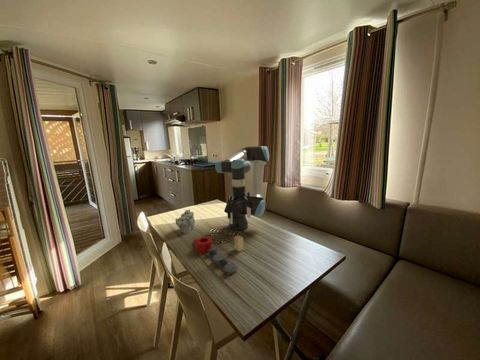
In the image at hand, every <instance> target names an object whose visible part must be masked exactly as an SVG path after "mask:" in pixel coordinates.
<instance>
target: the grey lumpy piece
mask: <svg viewBox="0 0 480 360" xmlns="http://www.w3.org/2000/svg"><path fill="white" fill-rule="evenodd" d="M194 215H195V214H194V212H193V211H191V209H189V208H188V209H186V210H185V211H184V212H183V213H182V214H181V215H180V217H179V218H177V217H176V218H175V219H174V220H175V224H176V226H177V228H179V231H180V233H182V232H183V234H184V235H186V234H187V235H188V234H190V233H191V232H192V231H194V230H195V226H196V225H195V222H196V220H195V217H194Z"/></svg>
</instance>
